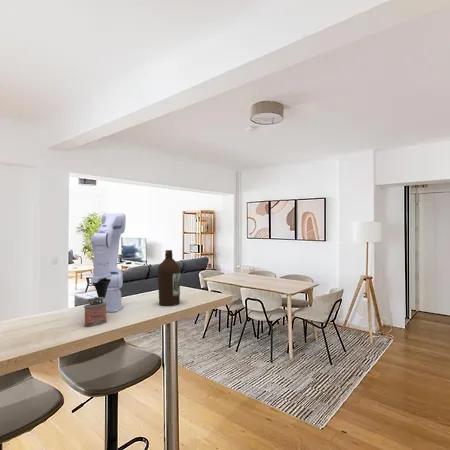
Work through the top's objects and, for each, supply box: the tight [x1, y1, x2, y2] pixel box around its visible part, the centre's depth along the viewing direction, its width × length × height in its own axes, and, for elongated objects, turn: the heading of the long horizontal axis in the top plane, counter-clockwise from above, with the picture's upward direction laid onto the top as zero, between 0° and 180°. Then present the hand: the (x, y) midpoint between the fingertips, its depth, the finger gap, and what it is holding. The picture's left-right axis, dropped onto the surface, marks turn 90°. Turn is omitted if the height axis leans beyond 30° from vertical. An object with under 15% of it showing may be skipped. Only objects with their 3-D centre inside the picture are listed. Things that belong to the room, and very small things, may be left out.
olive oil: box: [156, 249, 181, 307], centre depth 149 cm, size 11×11×25 cm
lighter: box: [83, 296, 107, 328], centre depth 118 cm, size 8×3×10 cm, turn 134°
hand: (101, 298), depth 124 cm, fingers closed
